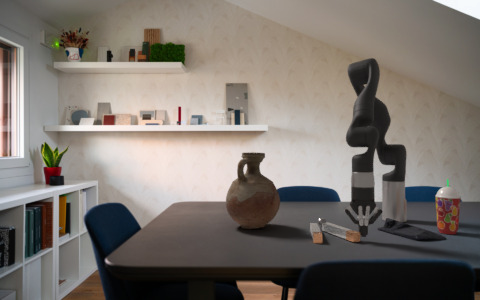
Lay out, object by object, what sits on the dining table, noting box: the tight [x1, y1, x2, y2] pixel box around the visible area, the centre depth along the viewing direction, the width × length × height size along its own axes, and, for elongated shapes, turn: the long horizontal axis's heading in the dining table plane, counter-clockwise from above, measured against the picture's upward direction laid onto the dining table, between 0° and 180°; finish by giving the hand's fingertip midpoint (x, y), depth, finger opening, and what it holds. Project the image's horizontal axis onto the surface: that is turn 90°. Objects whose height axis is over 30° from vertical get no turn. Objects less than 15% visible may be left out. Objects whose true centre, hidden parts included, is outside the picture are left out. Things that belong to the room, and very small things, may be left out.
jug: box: [225, 151, 281, 230], centre depth 151 cm, size 22×22×30 cm
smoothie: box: [434, 178, 462, 235], centre depth 141 cm, size 8×8×20 cm
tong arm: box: [321, 221, 361, 243], centre depth 135 cm, size 19×3×3 cm, turn 21°
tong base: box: [309, 217, 327, 244], centre depth 136 cm, size 22×6×4 cm, turn 173°
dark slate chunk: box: [377, 218, 447, 241], centre depth 139 cm, size 15×22×5 cm
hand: (363, 236), depth 128 cm, fingers closed
